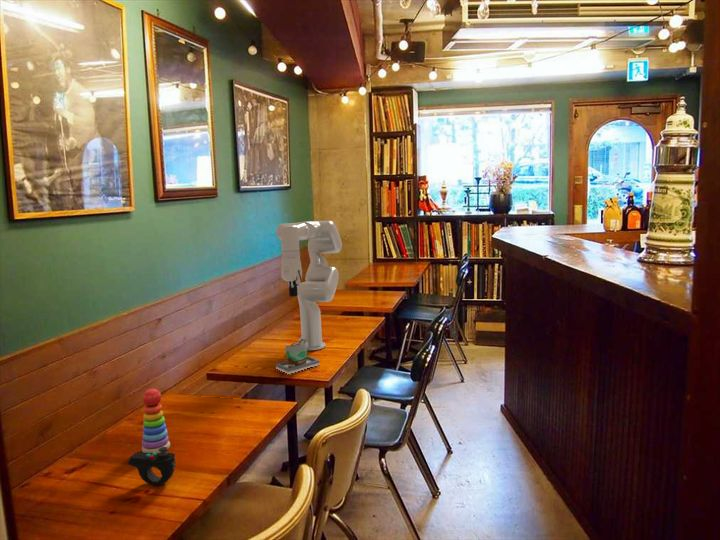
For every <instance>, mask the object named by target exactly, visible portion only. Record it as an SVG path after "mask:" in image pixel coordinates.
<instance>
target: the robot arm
mask: <svg viewBox="0 0 720 540" xmlns="http://www.w3.org/2000/svg"><path fill="white" fill-rule="evenodd" d="M337 228H338V227H337V226H336V224H335V223H334V222H333V221H332V220H313V221H299V222H290V223H280V224H279V225H278V226H277V228H276V236H277V238H278V239H279V240H280V242H281V244H280V245H281V264H280V265H281V266H280V270H281V271H280V272H281V273H280V274H281V279H282V280H283V281H284V282H286V283H287V286H288V291H289V292H288V293H289V297H290V298H293V297H297V299H298V305H299V312H300V315H299V316H300V317H299V318H300V333H301V336H300V337H299V341H301V338H302V339H305V340H307V342H308V347H307V352H308V351H309V352H311V351H319V350H322V349H324V348H325V347H326V342H325V341H323V336H322V319H321V309H320V306H319V305H318V304H317V303H330V302H331V301H332V300H333V299H334V296H335V294H336V291H337V286H338V284H339V279H340V278H339V271H338V269H337V268H336V267H335V266H328V261H327V260H326V258H325V257H324V256H323V255H322V254H338V253H340V252H341V251H342V249H343V243H342V239H341V236H340V233H339V230H338V229H337ZM300 241H308V242H307V252H308V257H309V260H310V263H309V265H308V268H307V271H306V273H305V278H304V279H305V281H303V282H302V279H303V267H302V261H301V254H300V253H301V252H300Z"/></svg>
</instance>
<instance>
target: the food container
mask: <svg viewBox="0 0 720 540" xmlns="http://www.w3.org/2000/svg"><path fill="white" fill-rule="evenodd" d="M307 347H308V342H307V340H305V339H302V338H301V340H299V341H297V342H293V343H292V344H290V345H285V347H284V351H285V352H286V353H285V354H286V361H288V368H291V367H295V366H298V365H302V364H305V363H306V360H307V356H308V355H307V353H308V351H307Z"/></svg>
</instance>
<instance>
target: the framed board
mask: <svg viewBox="0 0 720 540" xmlns="http://www.w3.org/2000/svg"><path fill="white" fill-rule="evenodd" d="M318 365H320V360H319V359H318V358H315V357H312V356H309V355H307V360H306V363H305V364H302V365H298V366H295V367H291V368H288V361H287V360H285V361H282V362H278V363H275V368H276V370H277V369H278V370H277V371H279V370H280V371H279V372H281V371H282V372H281V373H283V372H285V373H284V374H286V373H287V374H286V375H288V374H289V375H292V374H291V373H293V374H296V373H299V372H298V371H300V372H302V371H301V370H303V371H305V370H304V369H306V370H308V369H307V368H310V367H313V368H315V367H314V366H317V367H319V366H318ZM320 366H321V365H320ZM310 369H311V368H310ZM295 372H296V373H295Z"/></svg>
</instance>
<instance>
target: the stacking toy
mask: <svg viewBox="0 0 720 540" xmlns="http://www.w3.org/2000/svg"><path fill="white" fill-rule="evenodd" d="M161 400H162V394H161V392H160V390H158V389H156V388H149V389H147V390H146V391H145V392H144V393H143V396H142V401H143V403H144V404H145V406H144V408H143V411H144V413H143V414H142V415H143V422H142V423H143V428H142V432H143V433H142V440H141V445H142V446H141V451H142V452H143V453H160V451H159V449H160V448H161V447H167V450H166V451H168V450H169V449H170V447H171V442H170V440H169V435H168V433H169V431H168V428H167V424H166V422H165V420H166V419H165V416H164V412H163V410H162V409H163V405H162V404H161V403H160V402H161Z"/></svg>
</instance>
